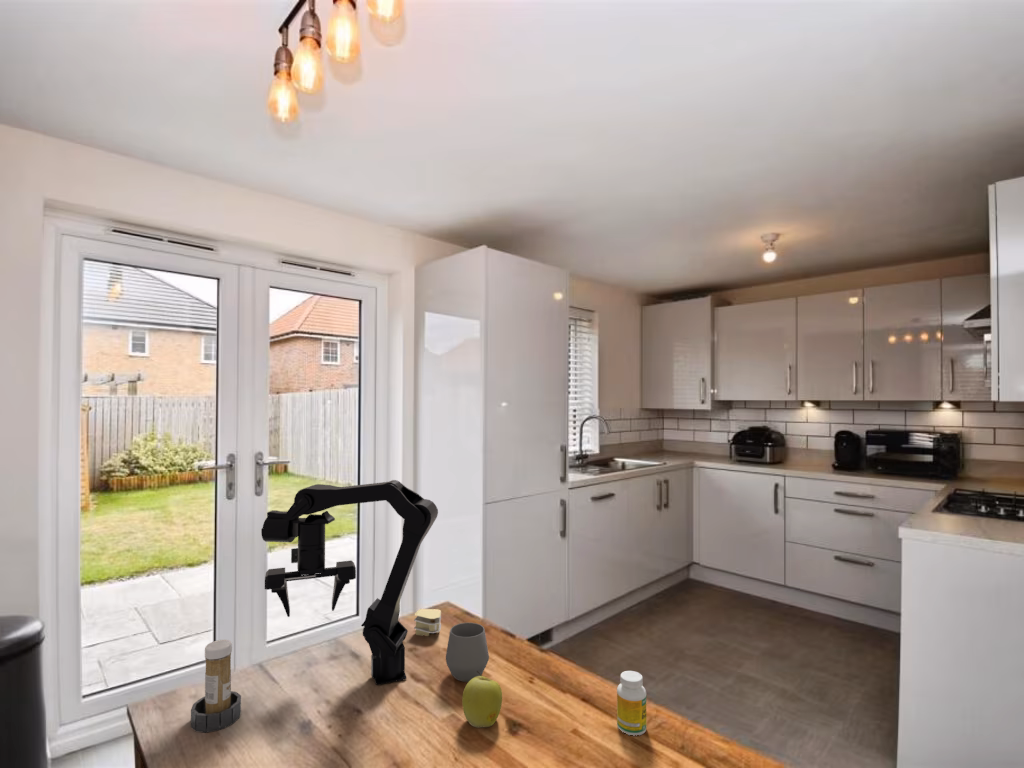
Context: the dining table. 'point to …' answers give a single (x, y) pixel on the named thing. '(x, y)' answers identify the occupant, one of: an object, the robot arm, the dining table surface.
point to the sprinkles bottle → (218, 676)
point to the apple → (482, 701)
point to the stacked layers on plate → (427, 621)
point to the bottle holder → (215, 715)
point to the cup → (467, 651)
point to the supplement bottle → (631, 704)
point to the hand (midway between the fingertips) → (311, 613)
